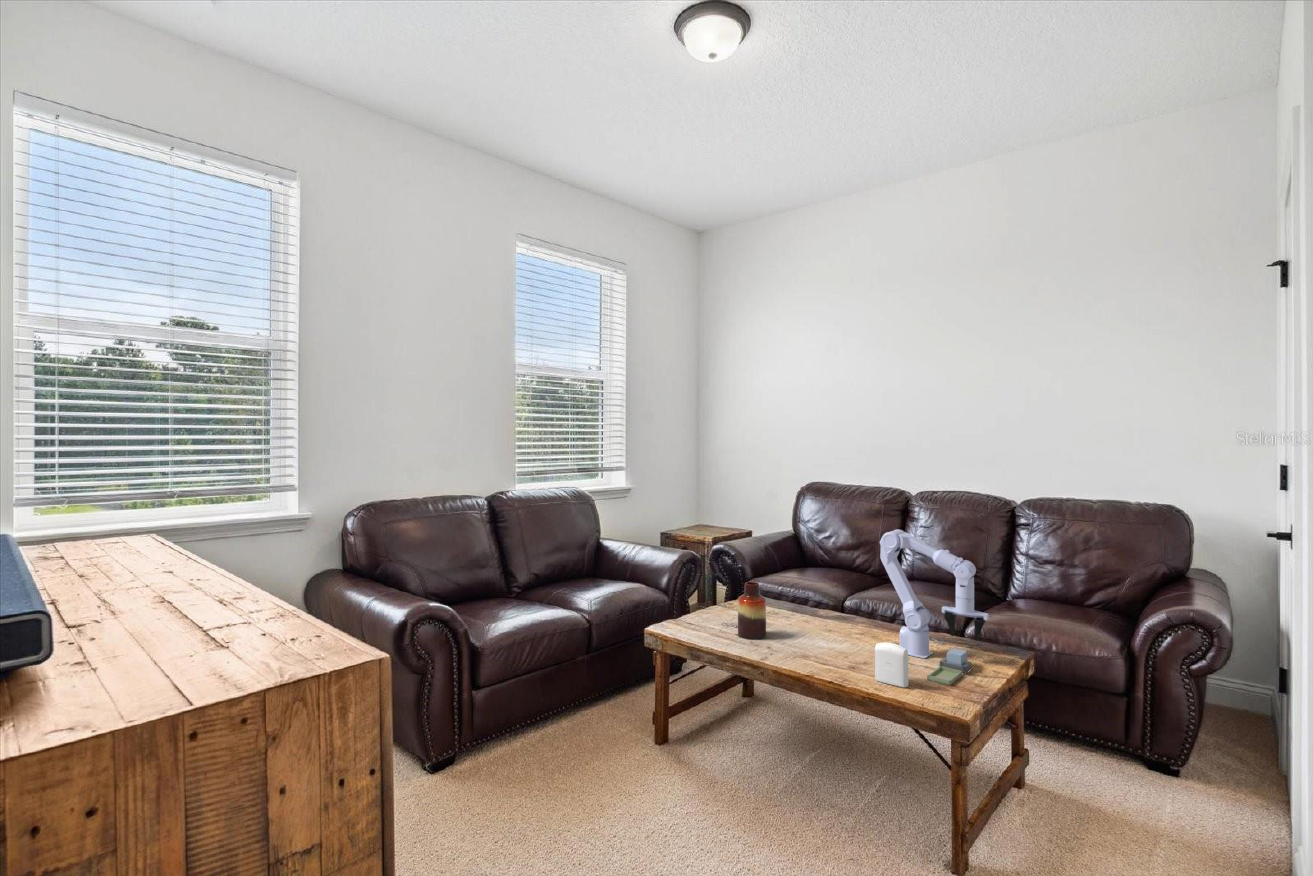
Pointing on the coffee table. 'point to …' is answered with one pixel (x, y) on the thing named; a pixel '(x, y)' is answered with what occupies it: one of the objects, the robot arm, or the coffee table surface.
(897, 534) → the robot arm
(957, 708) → the coffee table surface
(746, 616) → the vase
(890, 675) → the photo printer
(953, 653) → the stepped two-tone block
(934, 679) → the tray
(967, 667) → the bay
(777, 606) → the coffee table surface
